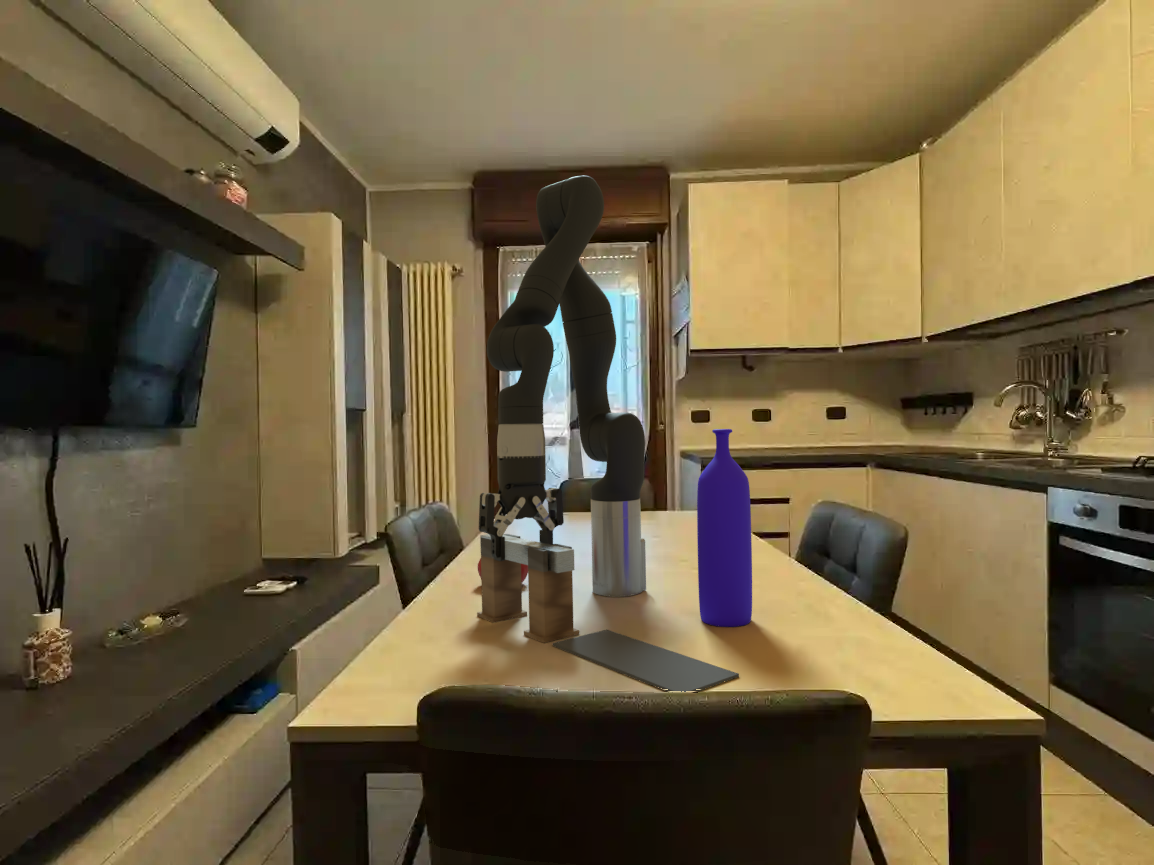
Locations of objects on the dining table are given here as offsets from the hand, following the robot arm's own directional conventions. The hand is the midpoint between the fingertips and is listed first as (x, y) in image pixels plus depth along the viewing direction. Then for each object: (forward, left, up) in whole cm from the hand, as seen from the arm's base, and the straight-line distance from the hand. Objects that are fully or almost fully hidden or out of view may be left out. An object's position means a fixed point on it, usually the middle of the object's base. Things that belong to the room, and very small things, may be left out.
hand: (522, 557), depth 111 cm
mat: (-2, +24, -11) cm, 26 cm away
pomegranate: (-12, -26, -11) cm, 31 cm away
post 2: (0, +7, -11) cm, 13 cm away
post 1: (0, -7, -11) cm, 13 cm away
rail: (0, 0, -1) cm, 1 cm away
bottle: (-25, +19, -11) cm, 33 cm away
